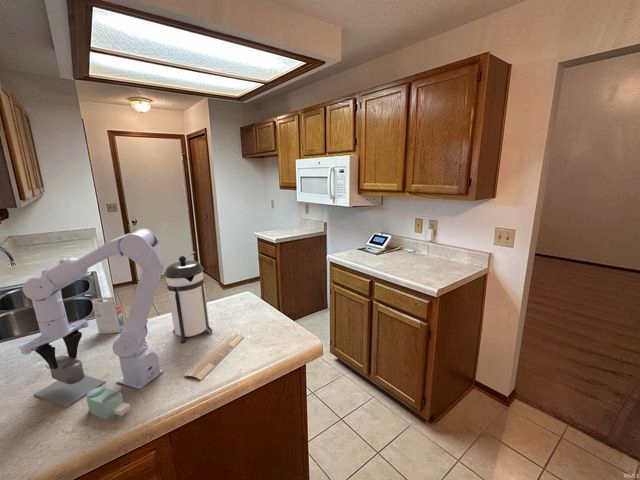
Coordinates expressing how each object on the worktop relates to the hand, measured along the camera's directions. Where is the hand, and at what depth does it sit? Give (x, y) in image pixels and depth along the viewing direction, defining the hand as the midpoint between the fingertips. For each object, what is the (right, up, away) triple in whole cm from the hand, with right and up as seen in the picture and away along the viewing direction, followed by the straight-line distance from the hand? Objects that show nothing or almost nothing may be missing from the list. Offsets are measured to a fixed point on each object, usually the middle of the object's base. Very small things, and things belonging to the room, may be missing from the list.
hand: (63, 362), depth 82 cm
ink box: (-9, -2, +33) cm, 34 cm away
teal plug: (+17, -10, -7) cm, 21 cm away
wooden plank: (+37, -5, +15) cm, 41 cm away
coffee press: (+22, -1, +30) cm, 37 cm away
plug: (0, -4, +1) cm, 4 cm away
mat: (0, -8, +2) cm, 8 cm away
